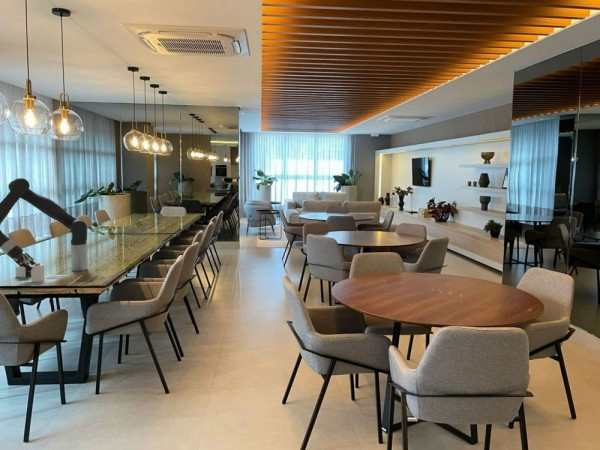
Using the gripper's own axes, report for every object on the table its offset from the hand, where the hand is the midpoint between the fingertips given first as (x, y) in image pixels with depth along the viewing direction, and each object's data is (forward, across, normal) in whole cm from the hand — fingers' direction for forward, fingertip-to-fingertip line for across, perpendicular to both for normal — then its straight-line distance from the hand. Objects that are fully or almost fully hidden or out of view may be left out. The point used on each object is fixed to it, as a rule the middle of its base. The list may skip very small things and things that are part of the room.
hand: (34, 268), depth 271 cm
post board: (+10, +5, +2) cm, 11 cm away
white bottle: (+6, 0, +4) cm, 7 cm away
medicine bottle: (-1, +13, +13) cm, 19 cm away
